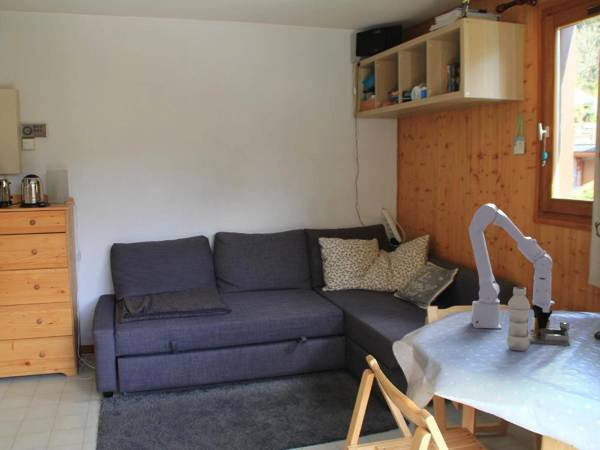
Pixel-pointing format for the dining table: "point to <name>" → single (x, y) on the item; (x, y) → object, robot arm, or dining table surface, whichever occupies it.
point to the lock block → (535, 324)
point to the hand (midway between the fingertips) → (540, 327)
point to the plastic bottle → (518, 320)
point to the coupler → (551, 335)
